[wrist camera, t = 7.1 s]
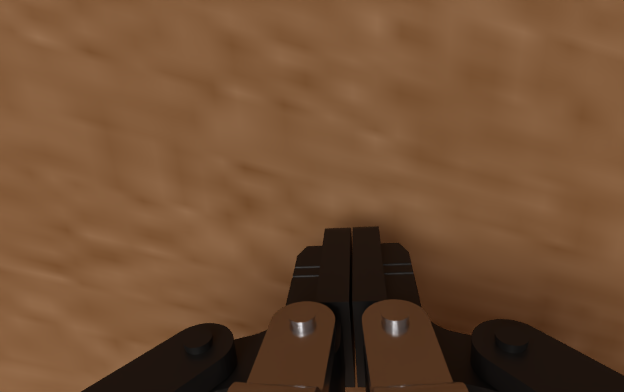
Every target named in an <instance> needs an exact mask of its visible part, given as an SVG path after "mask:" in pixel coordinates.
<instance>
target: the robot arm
mask: <svg viewBox="0 0 624 392" xmlns="http://www.w3.org/2000/svg"><path fill="white" fill-rule="evenodd" d="M355 351H356V366H357V381H358V387H366V392H624V376H623V375H621V374H620V373H618V372H616V371H614V370H612V369H610V368H608V367H606V366H605V365H603V364H601V363H599V362H597V361H595V360H593V359H591V358H590V357H588V356H586V355H584V354H582V353H580V352H578V351H577V350H575V349H573V348H571V347H569V346H567V345H565V344H563V343H562V342H560V341H558V340H556V339H554V338H552V337H550V336H548V335H547V334H545V333H543V332H541V331H539V330H537V329H535V328H533V327H531V326H529V325H527V324H524V323H521V322H518V321H514V320H507V319H495V320H489V321H486V322H483V323H481V324H479V325H478V326H477V327H476V328H475V329H474V330H473V333H472V336H471V335H466V334H461V333H457V332H453V331H449V330H446V329H443V328H441V327H439V326H437V325H436V324H434V323H432V322H431V321H430V319H429V316H428V314H427V313H426V312H425V310H424V309H422V308H421V304H420V299H419V295H418V291H417V286H416V282H415V277H414V274H413V269H412V265H411V260H410V256H409V252H408V251H407V250H406V249H405V248H404V247H403V246H402V245H400V244H399V243H382V244H381V243H380V235H379V227H378V226H376V227H353V253H352V237H351V228H329V229H325V232H324V239H323V246H307V247H306V248H305V249H304V250H303V251H302V252H301V253H300V254H299V255H298V256H297V260H296V264H295V269H294V273H293V278H292V281H291V286H290V290H289V294H288V298H287V303H286V306H285V307H283V308H281V309H280V310H278V311H277V312H276V313H275V314H274V316H273V317H272V319H271V321H270V324H269V326H268V329H267V330H266V331H264V332H261V333H259V334H255V335H252V336H248V337H243V338H239V339H235V340H234V338H233V334H232V332H231V331H230V330H229V329H228V328H227V327H225V326H223V325H220V324H215V323H205V324H199V325H195V326H192V327H189V328H187V329H185V330H183V331H181V332H179V333H178V334H176V335H174V336H173V337H171V338H169V339H168V340H166V341H164V342H163V343H161V344H159V345H158V346H156V347H154V348H153V349H151V350H149V351H148V352H146V353H144V354H143V355H141V356H139V357H138V358H136V359H134V360H133V361H131V362H130V363H128V364H126V365H125V366H123V367H121V368H120V369H118V370H116V371H115V372H113V373H111V374H110V375H108V376H106V377H105V378H103V379H101V380H100V381H98V382H96V383H95V384H93V385H91V386H90V387H88V388H86V389H85V390H83V391H81V392H345V387H355Z"/></svg>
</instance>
